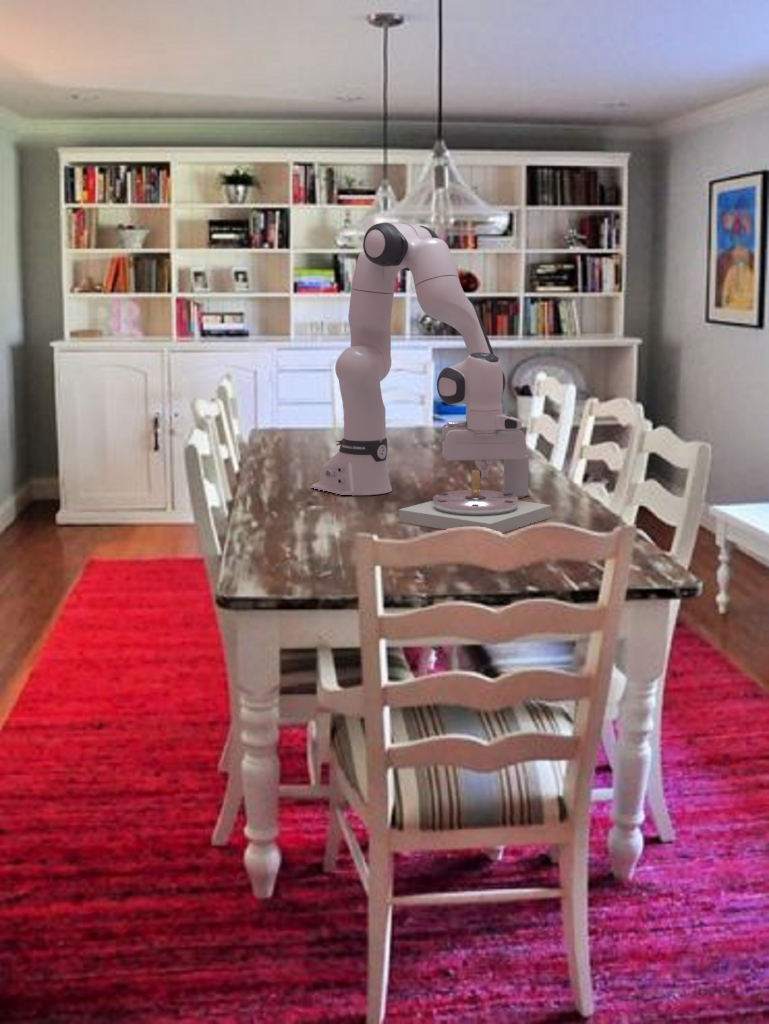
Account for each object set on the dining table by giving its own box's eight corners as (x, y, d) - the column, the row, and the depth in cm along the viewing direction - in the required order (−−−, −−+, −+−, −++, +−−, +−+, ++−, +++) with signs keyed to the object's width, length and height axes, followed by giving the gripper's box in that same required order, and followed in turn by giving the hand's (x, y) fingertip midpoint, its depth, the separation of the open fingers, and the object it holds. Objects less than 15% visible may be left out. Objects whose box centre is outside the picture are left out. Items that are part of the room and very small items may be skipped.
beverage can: (508, 499, 311) (509, 453, 309) (499, 494, 317) (500, 449, 315) (531, 497, 313) (532, 452, 310) (522, 493, 319) (523, 448, 317)
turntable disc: (417, 508, 284) (417, 479, 283) (460, 494, 300) (461, 467, 299) (491, 518, 273) (491, 488, 272) (532, 503, 289) (533, 474, 288)
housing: (398, 522, 286) (398, 508, 285) (462, 504, 305) (462, 491, 305) (490, 537, 270) (490, 522, 269) (551, 517, 289) (551, 504, 289)
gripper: (443, 423, 287) (443, 481, 290) (528, 421, 288) (527, 479, 291) (439, 420, 293) (439, 476, 296) (523, 418, 295) (522, 474, 297)
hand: (484, 477), depth 293 cm, fingers closed
